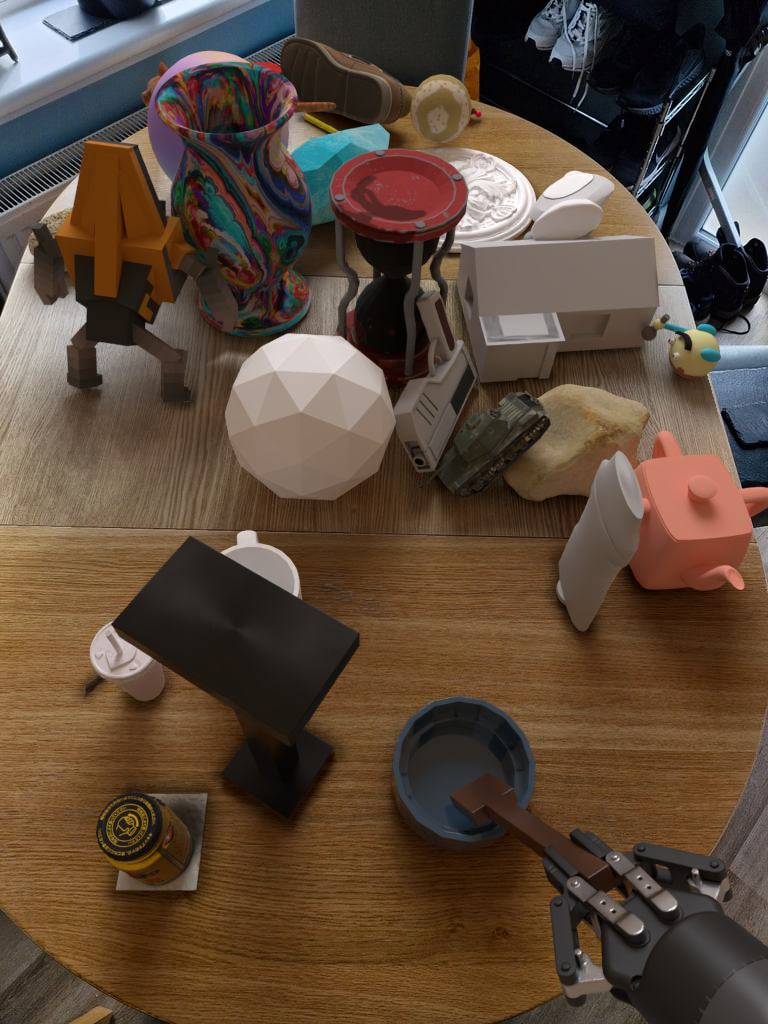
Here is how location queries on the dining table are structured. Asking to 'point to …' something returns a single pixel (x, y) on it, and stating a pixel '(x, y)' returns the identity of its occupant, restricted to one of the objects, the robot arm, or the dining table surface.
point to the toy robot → (124, 266)
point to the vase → (241, 188)
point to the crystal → (334, 162)
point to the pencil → (319, 123)
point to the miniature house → (554, 299)
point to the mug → (265, 561)
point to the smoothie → (126, 665)
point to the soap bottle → (570, 207)
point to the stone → (577, 442)
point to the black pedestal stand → (246, 662)
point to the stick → (93, 683)
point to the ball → (164, 139)
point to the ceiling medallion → (488, 197)
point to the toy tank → (491, 443)
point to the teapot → (692, 520)
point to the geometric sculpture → (309, 416)
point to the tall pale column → (601, 540)
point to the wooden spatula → (527, 827)
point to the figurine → (688, 347)
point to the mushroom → (440, 109)
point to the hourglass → (394, 251)
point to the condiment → (153, 839)
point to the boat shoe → (343, 82)
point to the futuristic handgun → (434, 389)
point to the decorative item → (50, 227)
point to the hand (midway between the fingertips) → (562, 849)
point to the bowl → (457, 768)
